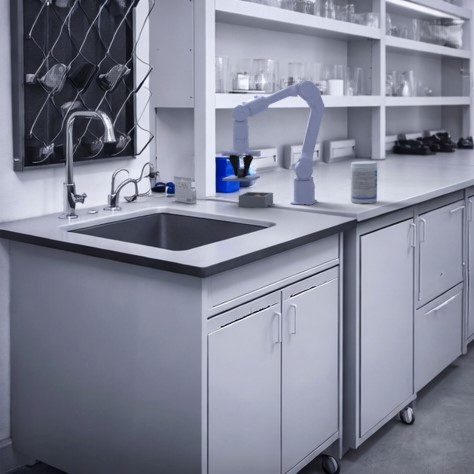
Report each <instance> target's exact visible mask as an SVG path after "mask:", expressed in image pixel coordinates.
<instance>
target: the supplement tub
mask: <svg viewBox="0 0 474 474" xmlns="http://www.w3.org/2000/svg"><path fill="white" fill-rule="evenodd" d="M377 163H378V162H376V161H368V160H367V161H353V162H351V163H350V201H351V203H352V204H353V203H354V204H357V203H369V204H373V203H374V202H375V203H376V202H377V200H378V165H377Z"/></svg>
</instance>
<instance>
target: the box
mask: <svg viewBox="0 0 474 474" xmlns="http://www.w3.org/2000/svg"><path fill="white" fill-rule="evenodd" d="M255 195H260V196H255ZM272 203H273V204H274V192H263V191H246V192H244V193H243V194H239V195H238V207H241V208H261V209H263V208H264V209H265V208H268V207H269V206H271V205H273V204H272ZM270 204H271V205H270ZM268 205H269V206H268Z"/></svg>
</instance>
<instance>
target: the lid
mask: <svg viewBox="0 0 474 474" xmlns="http://www.w3.org/2000/svg"><path fill="white" fill-rule="evenodd" d="M260 178H261V175H248V176H244V167H238V168H237V176H235V174H231V175H229V176H226V177H223V178H222V181H223V182H225V181H226V182H252V181H255V180H259V179H260Z"/></svg>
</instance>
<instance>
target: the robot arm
mask: <svg viewBox="0 0 474 474" xmlns="http://www.w3.org/2000/svg"><path fill="white" fill-rule="evenodd" d="M298 96H299V97H300V98H301V99H302V100H303V101H305V102H306V104H307V105H308V107H309V108H310V112H309V116H308V119H307V124H306V125H307V126H306V128H305V132H304V138H303V143H302V147H301V150H300V151H301V152H300V154H299V156H298V157H299V158H298V160H297V161H296V162H295V164H294V167H293V168H294V173H295V176H294V177H293V201H291V202H290V205H304V204H306V205H308V206H309V205H310V206H312V205H313V204H315V203H316V202H318V199H316V198H315V194H316V191H315V188H316V186H315V182H314V177H313V176H312V175H313V171H314V168H313V161H314V154H315V151H316V150H315V149H316V145H317V140H318V136H319V131H320V127H321V124H322V121H323V120H322V119H323V115H324V111H325V103H324V101H323V97H322V95H321V92H320V89H319V88H318V87H317V86H316V84H315V83H314V82H313V81H311V80H304V81H302V82H298V83H295V84H291V85H290V84H289V85H287V86H286V87H284V88H282V89H280V90H277V91H276V92H273V93H272V94H270V95H267V96H264V95H259V96H258V95H254V96H253V97H254V98H251V99H249V100H247V101H242V102H241V104H238V105H237V106H235V107H234V108H233V110H232V111H231V115H232V118H233V121H232V150H229V149H228V150H221V157H228V161H229V162H230V165H231V167H232V170H233V173H234V174H233V175H235V176H237V168H239V161H240V157H242V162H243V168H244V176H248V174H249V171H250V166H251V164H252V162H253V160H254V157H261V150H250V149H249V148H250V147H249V145H250V144H249V141H250V140H249V125H248V118H249V117H250V118H253V117H254V116H255V117H256V116H257V115H259V114H261V113H264V112H266V111H267V110H268V109H269V106H270V105H272V104H275V103H277V102H280V101H282V100H284V99H286V98H289V97H293V98H294V97H295V98H296V97H297V98H298Z"/></svg>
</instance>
